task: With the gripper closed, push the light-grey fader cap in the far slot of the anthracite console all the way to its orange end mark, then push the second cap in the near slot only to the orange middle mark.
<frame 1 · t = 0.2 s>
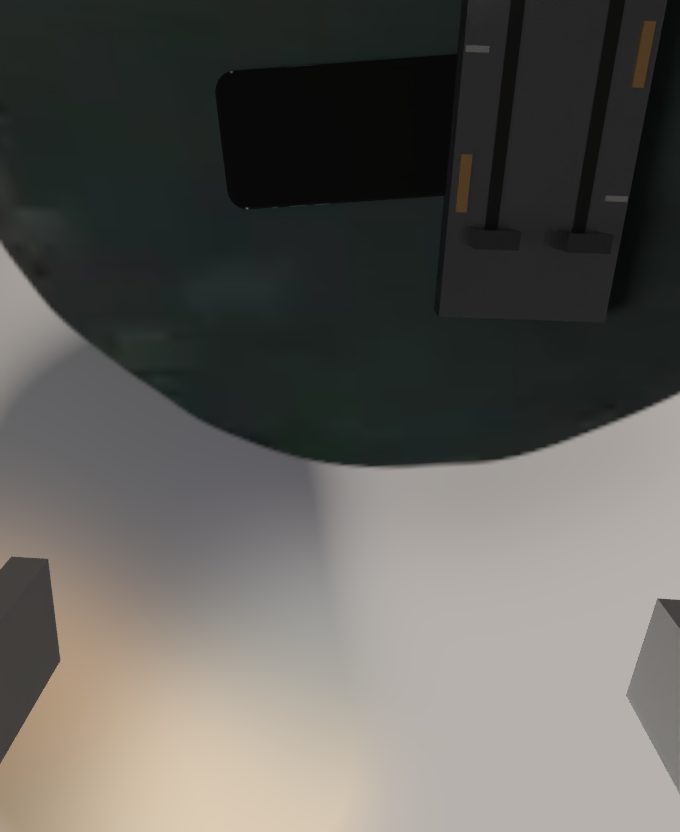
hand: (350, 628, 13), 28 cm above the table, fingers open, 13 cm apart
smartphone: (352, 135, 35), on the table
console: (548, 59, 34), on the table
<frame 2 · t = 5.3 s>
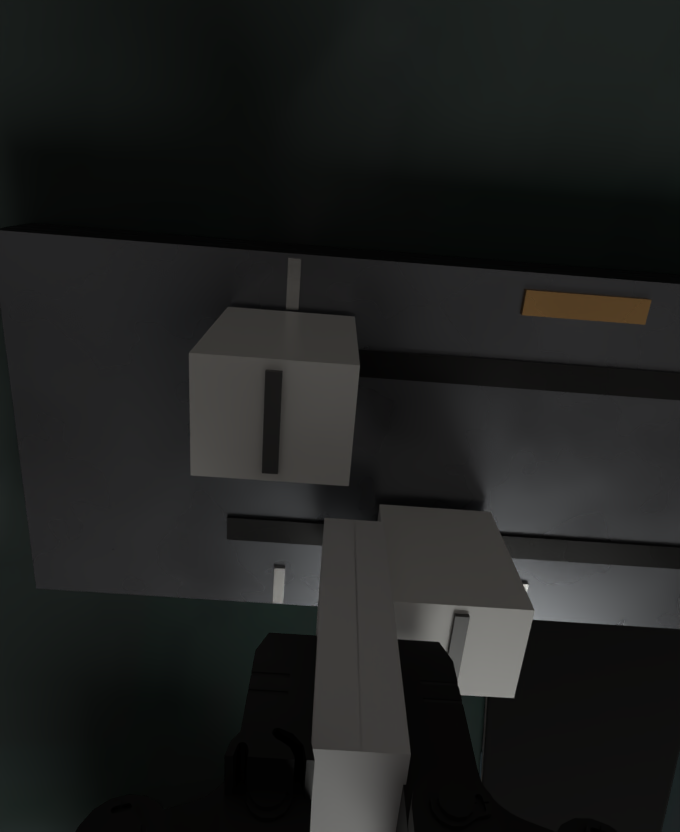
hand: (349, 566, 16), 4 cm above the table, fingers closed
smartphone: (578, 698, 23), on the table
console: (527, 437, 18), on the table
fader a: (440, 593, 15), point 4 cm above the table, slide at 4.1 cm, touching gripper
fader b: (281, 387, 13), point 4 cm above the table, slide at 0.0 cm
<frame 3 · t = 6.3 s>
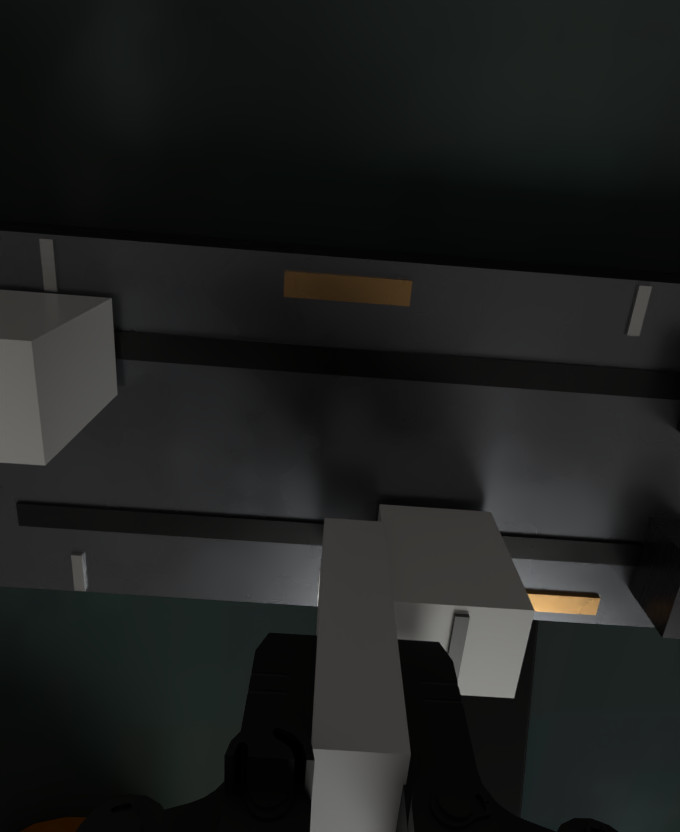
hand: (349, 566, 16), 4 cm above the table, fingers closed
smartphone: (426, 690, 23), on the table
console: (335, 423, 18), on the table
fader a: (440, 593, 15), point 4 cm above the table, slide at 9.8 cm, touching gripper
fader b: (9, 368, 13), point 4 cm above the table, slide at 0.0 cm
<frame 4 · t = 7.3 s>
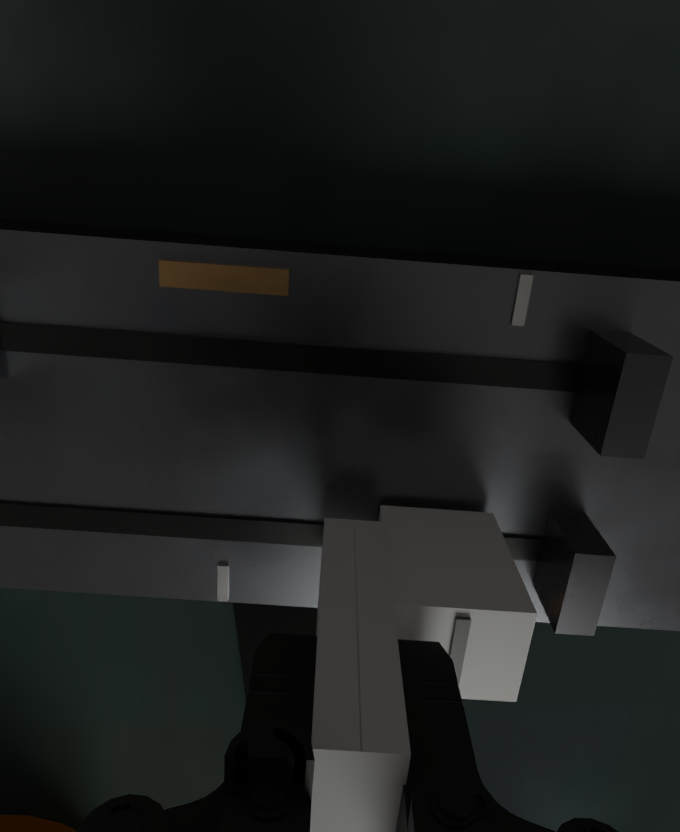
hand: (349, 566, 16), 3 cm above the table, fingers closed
smartphone: (349, 687, 22), on the table
console: (236, 416, 18), on the table
fader a: (442, 595, 15), point 4 cm above the table, slide at 12.7 cm, touching gripper
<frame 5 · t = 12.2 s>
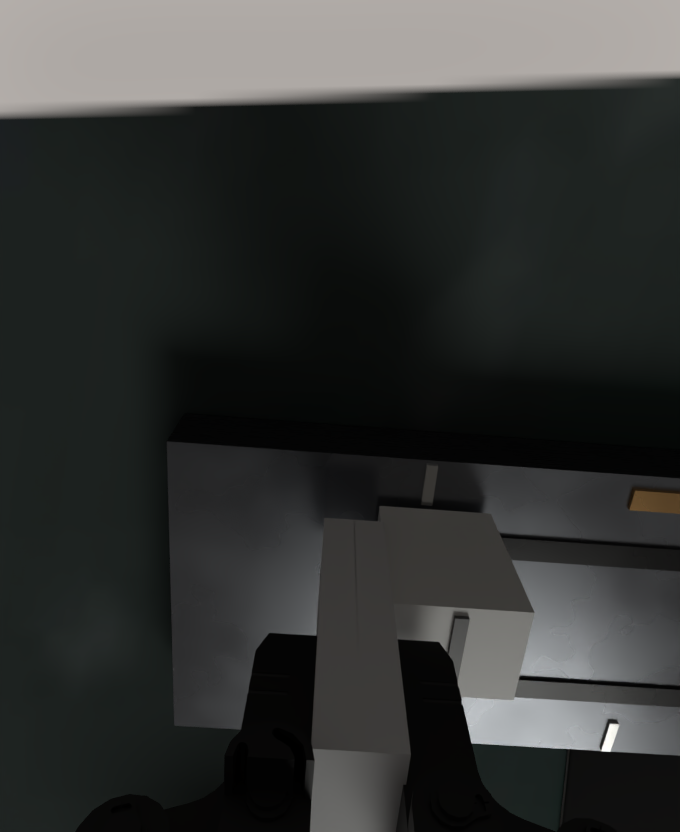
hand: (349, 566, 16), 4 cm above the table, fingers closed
smartphone: (646, 800, 25), on the table
console: (615, 586, 20), on the table
fader b: (440, 595, 15), point 4 cm above the table, slide at 0.2 cm, touching gripper
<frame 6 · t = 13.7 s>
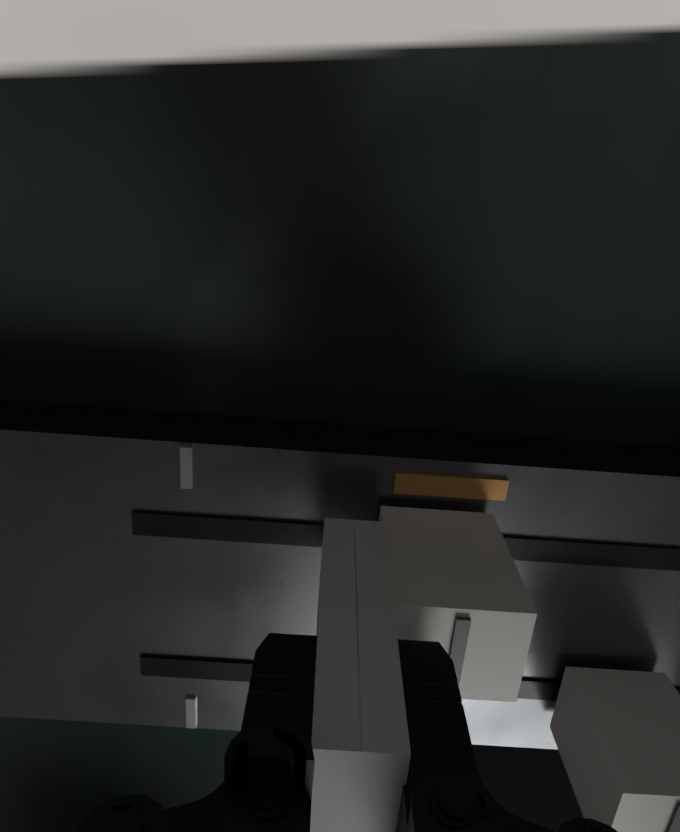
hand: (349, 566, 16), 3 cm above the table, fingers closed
smartphone: (490, 793, 24), on the table
console: (421, 573, 20), on the table
fader a: (636, 760, 17), point 4 cm above the table, slide at 12.7 cm
fader b: (442, 596, 15), point 4 cm above the table, slide at 6.7 cm, touching gripper
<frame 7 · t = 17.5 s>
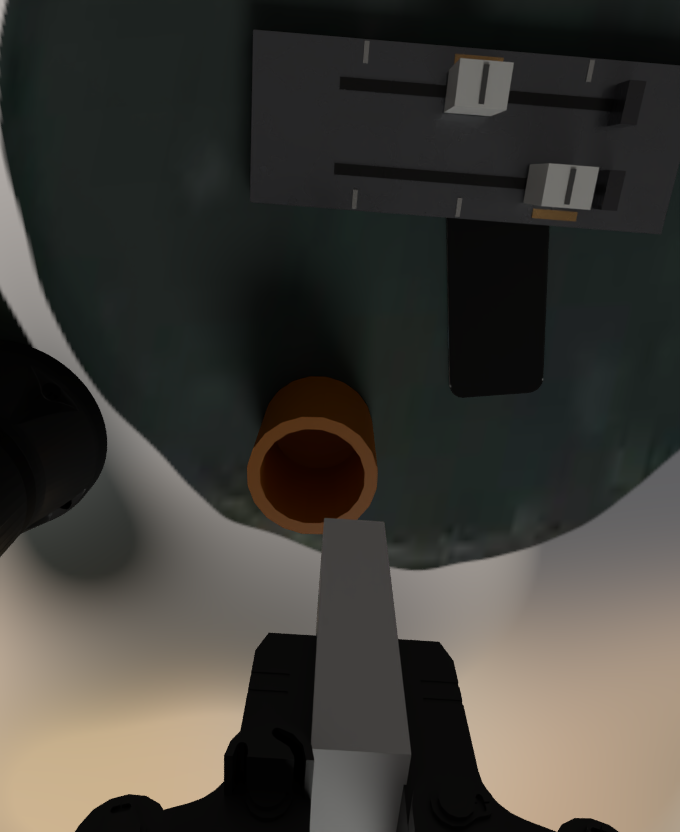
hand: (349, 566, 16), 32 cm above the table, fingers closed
smartphone: (494, 297, 46), on the table
console: (462, 139, 41), on the table
mug: (320, 443, 50), on the table
fader a: (559, 186, 38), point 4 cm above the table, slide at 12.7 cm
fader b: (476, 88, 36), point 4 cm above the table, slide at 6.7 cm
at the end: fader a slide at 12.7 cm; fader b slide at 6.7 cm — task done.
